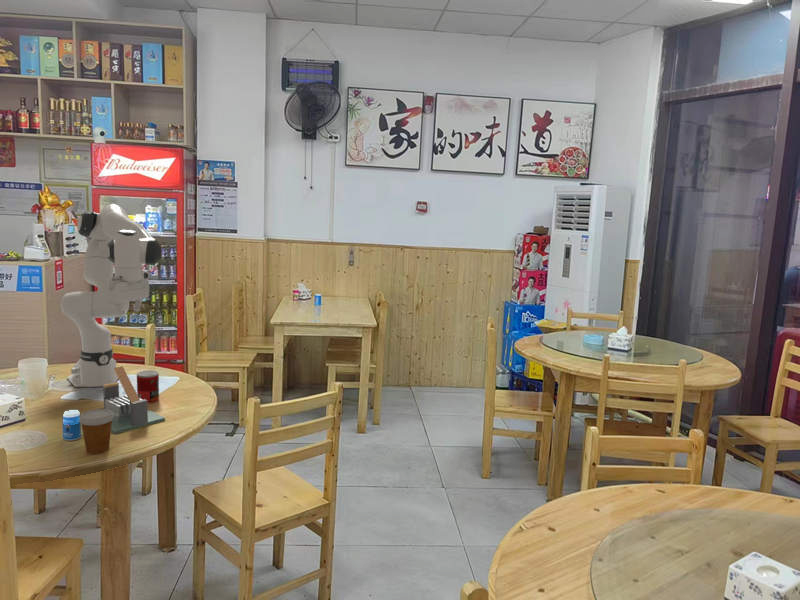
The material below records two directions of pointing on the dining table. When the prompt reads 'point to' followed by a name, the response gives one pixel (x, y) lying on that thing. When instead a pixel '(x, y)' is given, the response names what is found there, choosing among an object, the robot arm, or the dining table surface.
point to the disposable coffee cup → (96, 430)
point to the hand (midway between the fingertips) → (129, 313)
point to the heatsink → (119, 408)
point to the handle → (126, 384)
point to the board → (128, 423)
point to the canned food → (148, 386)
